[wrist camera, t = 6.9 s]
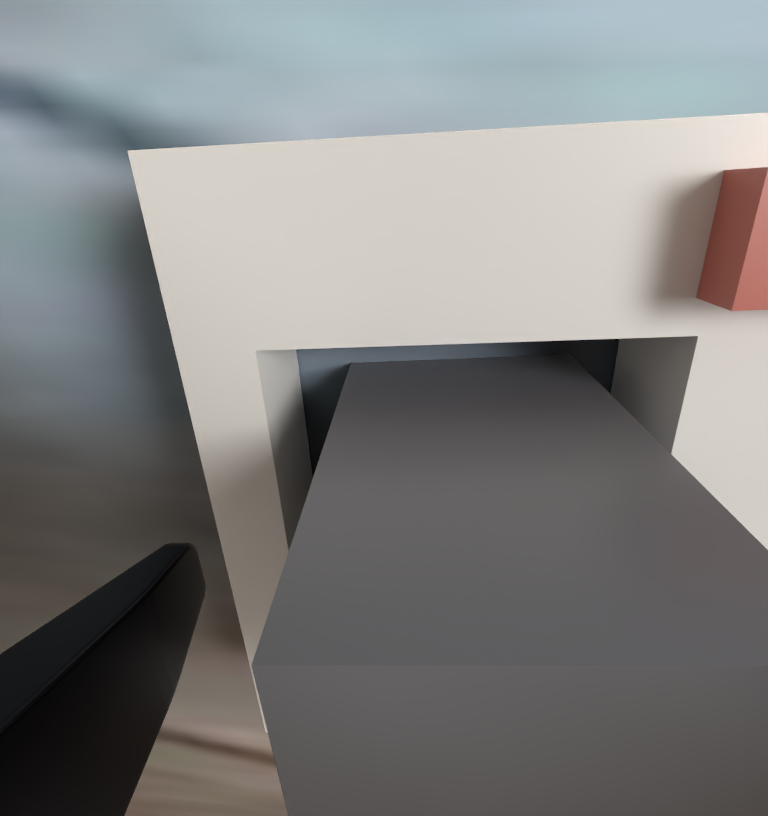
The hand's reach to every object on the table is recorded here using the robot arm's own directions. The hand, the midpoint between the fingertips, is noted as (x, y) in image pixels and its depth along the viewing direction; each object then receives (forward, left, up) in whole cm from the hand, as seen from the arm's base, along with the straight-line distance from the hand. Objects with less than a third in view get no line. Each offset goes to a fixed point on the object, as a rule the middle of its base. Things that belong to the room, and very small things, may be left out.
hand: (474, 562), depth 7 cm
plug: (0, 0, -4) cm, 4 cm away
